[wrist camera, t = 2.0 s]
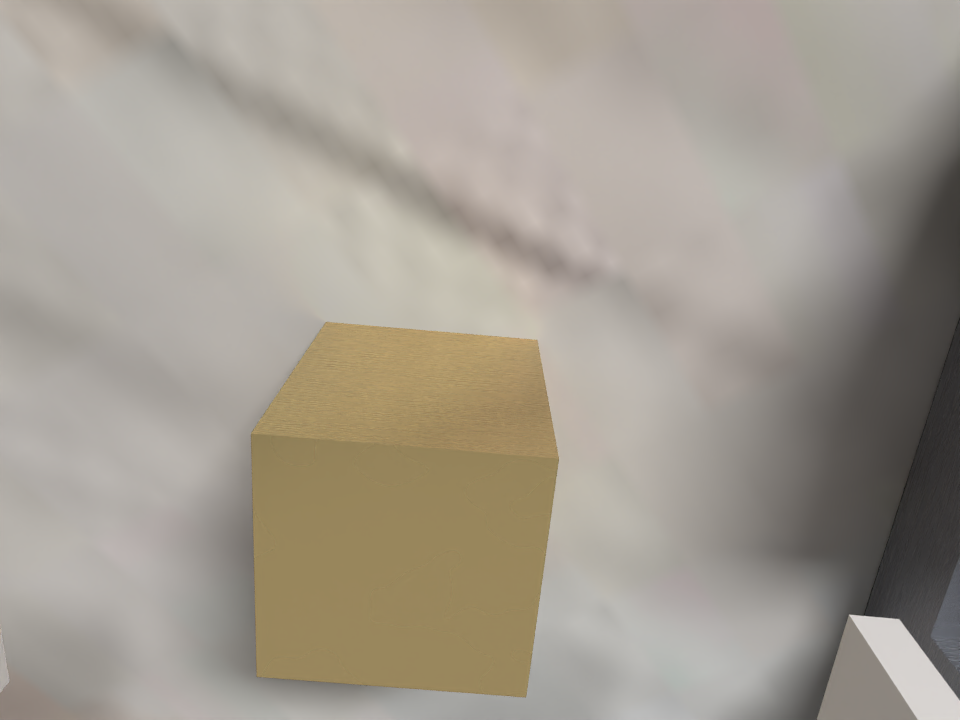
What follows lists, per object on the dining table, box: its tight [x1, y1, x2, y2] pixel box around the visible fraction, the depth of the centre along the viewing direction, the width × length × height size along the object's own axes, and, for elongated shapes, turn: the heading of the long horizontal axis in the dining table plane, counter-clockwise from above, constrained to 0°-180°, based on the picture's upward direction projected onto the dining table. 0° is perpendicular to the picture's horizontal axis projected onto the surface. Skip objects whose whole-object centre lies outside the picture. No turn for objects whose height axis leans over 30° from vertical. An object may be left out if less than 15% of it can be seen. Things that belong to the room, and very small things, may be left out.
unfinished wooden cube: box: [251, 322, 559, 697], centre depth 16 cm, size 5×5×6 cm
